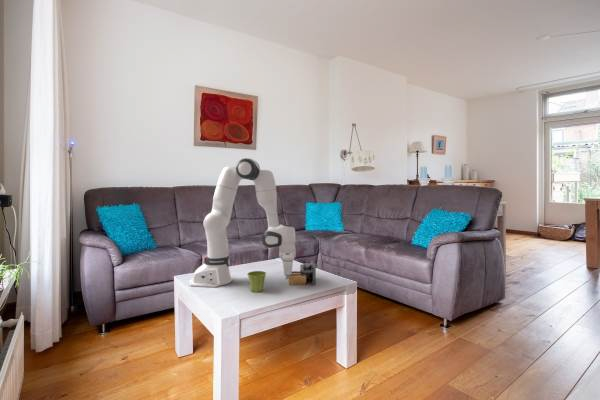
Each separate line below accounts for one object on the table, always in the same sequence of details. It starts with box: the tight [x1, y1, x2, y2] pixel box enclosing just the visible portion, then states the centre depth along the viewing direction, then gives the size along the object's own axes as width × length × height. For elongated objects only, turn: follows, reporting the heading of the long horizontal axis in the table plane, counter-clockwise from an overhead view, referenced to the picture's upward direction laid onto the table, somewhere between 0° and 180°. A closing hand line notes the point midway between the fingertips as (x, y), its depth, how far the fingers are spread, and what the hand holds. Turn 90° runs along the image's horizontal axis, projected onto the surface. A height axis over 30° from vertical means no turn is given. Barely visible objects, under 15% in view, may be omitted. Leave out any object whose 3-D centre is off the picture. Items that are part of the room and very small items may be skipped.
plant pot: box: [246, 270, 267, 293], centre depth 163 cm, size 9×9×9 cm
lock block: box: [288, 270, 307, 286], centre depth 175 cm, size 9×8×5 cm
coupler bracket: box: [299, 260, 317, 286], centre depth 176 cm, size 7×12×10 cm, turn 4°
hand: (287, 278), depth 175 cm, fingers closed
